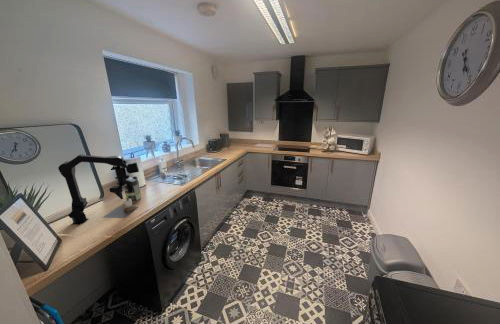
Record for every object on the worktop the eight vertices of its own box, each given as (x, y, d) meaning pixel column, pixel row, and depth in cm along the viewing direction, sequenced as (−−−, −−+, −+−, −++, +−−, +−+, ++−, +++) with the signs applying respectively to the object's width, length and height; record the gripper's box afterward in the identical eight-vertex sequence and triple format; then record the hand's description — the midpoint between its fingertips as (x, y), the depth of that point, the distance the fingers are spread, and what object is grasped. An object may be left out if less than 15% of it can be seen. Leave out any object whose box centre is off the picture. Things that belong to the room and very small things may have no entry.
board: (102, 218, 125) (102, 217, 125) (118, 207, 138) (118, 206, 138) (125, 218, 123) (125, 217, 123) (139, 207, 137) (138, 206, 136)
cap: (123, 208, 130) (121, 200, 129) (128, 204, 135) (126, 197, 133) (129, 208, 130) (128, 200, 128) (134, 205, 134) (132, 197, 132)
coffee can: (129, 204, 142) (125, 186, 138) (125, 199, 149) (121, 183, 145) (144, 199, 149) (140, 182, 145) (139, 195, 156) (136, 179, 152)
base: (121, 212, 130) (120, 209, 129) (128, 207, 137) (128, 203, 136) (131, 212, 129) (130, 209, 129) (137, 207, 136) (137, 204, 135)
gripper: (122, 180, 116) (128, 202, 120) (141, 170, 133) (146, 190, 138) (105, 180, 117) (112, 202, 121) (127, 170, 135) (131, 190, 139)
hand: (126, 195), depth 130 cm, fingers open, 9 cm apart
